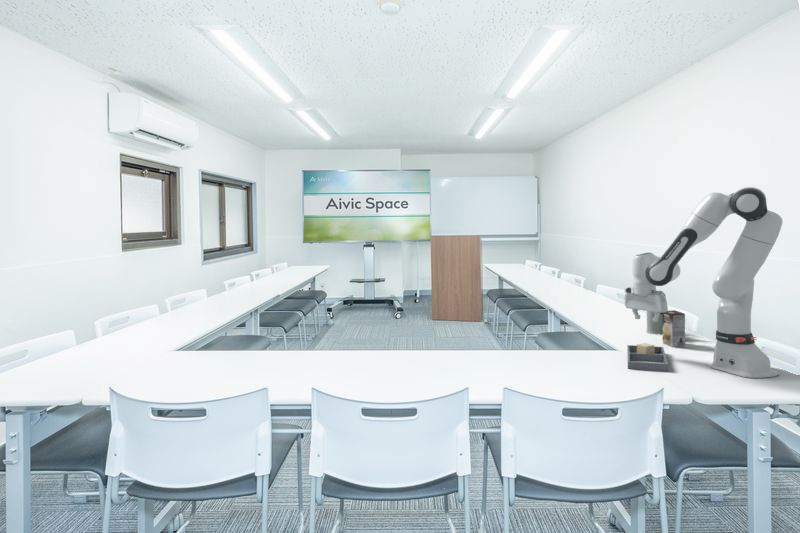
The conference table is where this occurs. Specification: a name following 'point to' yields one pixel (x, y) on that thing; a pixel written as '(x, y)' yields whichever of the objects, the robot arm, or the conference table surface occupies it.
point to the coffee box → (673, 328)
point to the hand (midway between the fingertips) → (646, 320)
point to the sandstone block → (646, 348)
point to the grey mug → (654, 324)
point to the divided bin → (647, 359)
